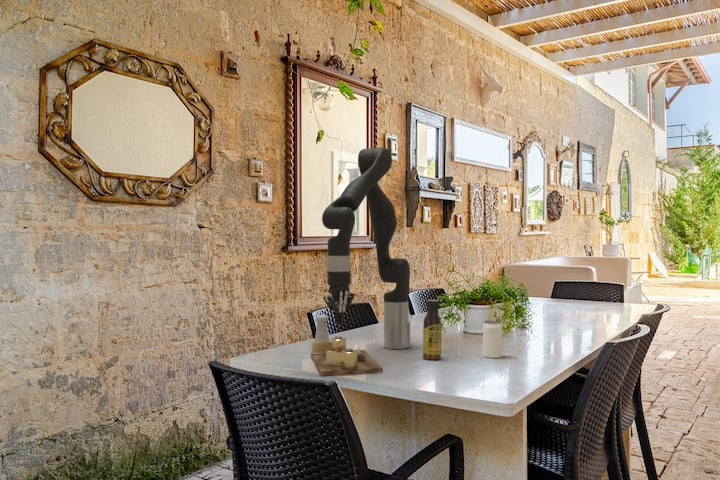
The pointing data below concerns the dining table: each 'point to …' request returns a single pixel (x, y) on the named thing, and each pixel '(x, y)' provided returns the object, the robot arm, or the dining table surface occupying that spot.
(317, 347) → the dial
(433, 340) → the sauce bottle
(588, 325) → the dining table surface
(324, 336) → the salt shaker
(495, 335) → the can
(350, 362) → the dial
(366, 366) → the levelling plate
